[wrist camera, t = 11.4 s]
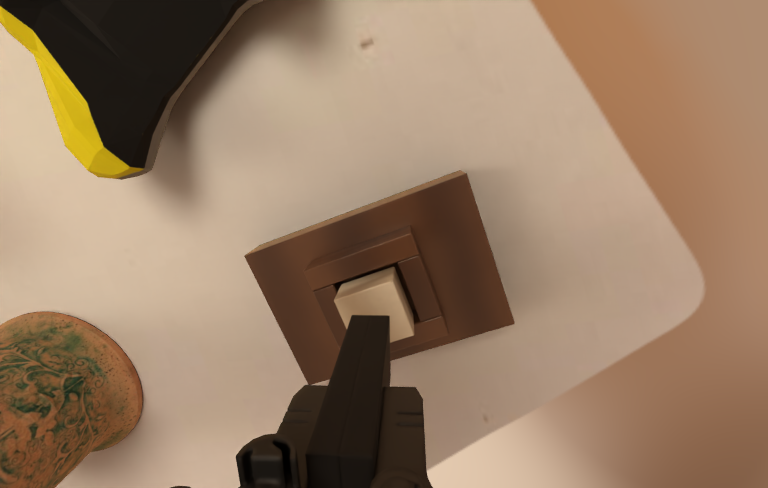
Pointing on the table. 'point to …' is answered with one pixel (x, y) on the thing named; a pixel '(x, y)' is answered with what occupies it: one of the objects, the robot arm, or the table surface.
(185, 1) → the gaming controller
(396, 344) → the key block
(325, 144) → the table surface
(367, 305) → the high key
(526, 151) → the table surface
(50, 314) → the mug
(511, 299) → the table surface
